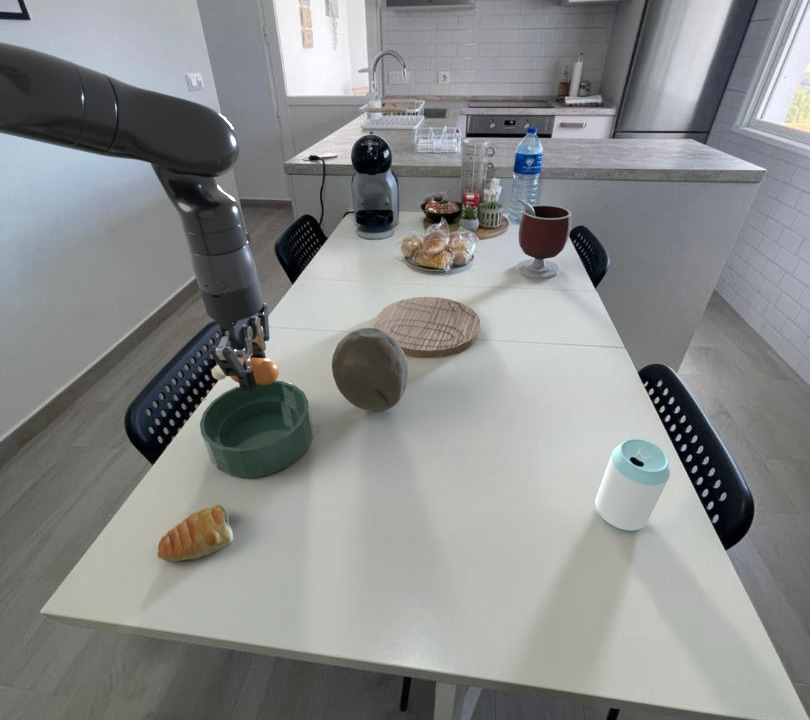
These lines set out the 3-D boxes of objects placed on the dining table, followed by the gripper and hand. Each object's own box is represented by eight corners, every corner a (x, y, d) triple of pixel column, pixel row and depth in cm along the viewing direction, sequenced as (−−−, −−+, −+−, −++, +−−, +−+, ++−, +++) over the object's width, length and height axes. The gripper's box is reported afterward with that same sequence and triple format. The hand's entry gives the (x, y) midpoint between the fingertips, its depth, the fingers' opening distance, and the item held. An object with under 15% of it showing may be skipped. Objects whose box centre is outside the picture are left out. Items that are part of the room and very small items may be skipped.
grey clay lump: (418, 386, 89) (418, 320, 80) (395, 434, 78) (392, 365, 69) (353, 374, 93) (346, 310, 84) (322, 419, 82) (311, 351, 73)
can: (650, 538, 61) (680, 480, 54) (595, 527, 62) (617, 469, 56) (642, 497, 66) (669, 440, 59) (592, 487, 68) (612, 430, 61)
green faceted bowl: (241, 498, 68) (231, 469, 64) (194, 440, 78) (182, 412, 74) (332, 439, 77) (328, 411, 74) (279, 395, 87) (273, 368, 84)
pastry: (164, 579, 57) (154, 562, 55) (157, 539, 62) (148, 522, 60) (238, 543, 61) (231, 527, 59) (226, 508, 66) (219, 492, 64)
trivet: (392, 298, 120) (392, 292, 119) (486, 309, 114) (487, 302, 113) (360, 349, 100) (359, 341, 99) (471, 365, 94) (471, 357, 93)
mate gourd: (563, 263, 136) (577, 196, 125) (559, 282, 126) (573, 210, 114) (512, 257, 141) (521, 191, 130) (504, 274, 131) (512, 205, 119)
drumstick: (208, 386, 68) (200, 365, 66) (220, 369, 71) (213, 349, 69) (275, 391, 67) (270, 370, 65) (284, 374, 70) (279, 353, 68)
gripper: (225, 256, 65) (251, 352, 75) (171, 302, 54) (210, 409, 64) (274, 257, 64) (294, 355, 74) (230, 305, 53) (260, 413, 63)
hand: (255, 379), depth 69 cm, fingers closed on drumstick, 4 cm apart
